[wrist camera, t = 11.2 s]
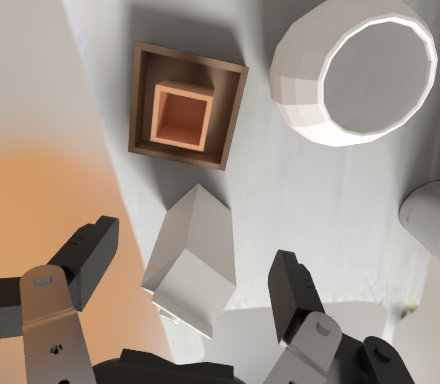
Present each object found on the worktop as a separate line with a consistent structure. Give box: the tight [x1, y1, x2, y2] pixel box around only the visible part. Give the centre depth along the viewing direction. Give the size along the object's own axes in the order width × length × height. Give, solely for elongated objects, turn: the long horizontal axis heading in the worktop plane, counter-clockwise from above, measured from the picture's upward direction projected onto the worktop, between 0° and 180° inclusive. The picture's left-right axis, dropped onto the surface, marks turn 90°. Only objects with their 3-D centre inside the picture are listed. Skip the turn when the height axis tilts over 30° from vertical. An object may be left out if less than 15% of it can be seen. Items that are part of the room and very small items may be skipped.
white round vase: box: [269, 0, 438, 147], centre depth 26 cm, size 13×13×14 cm
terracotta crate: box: [150, 79, 215, 151], centre depth 30 cm, size 6×6×7 cm
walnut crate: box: [128, 41, 249, 171], centre depth 32 cm, size 12×12×4 cm
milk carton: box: [140, 183, 236, 339], centre depth 32 cm, size 7×7×19 cm
